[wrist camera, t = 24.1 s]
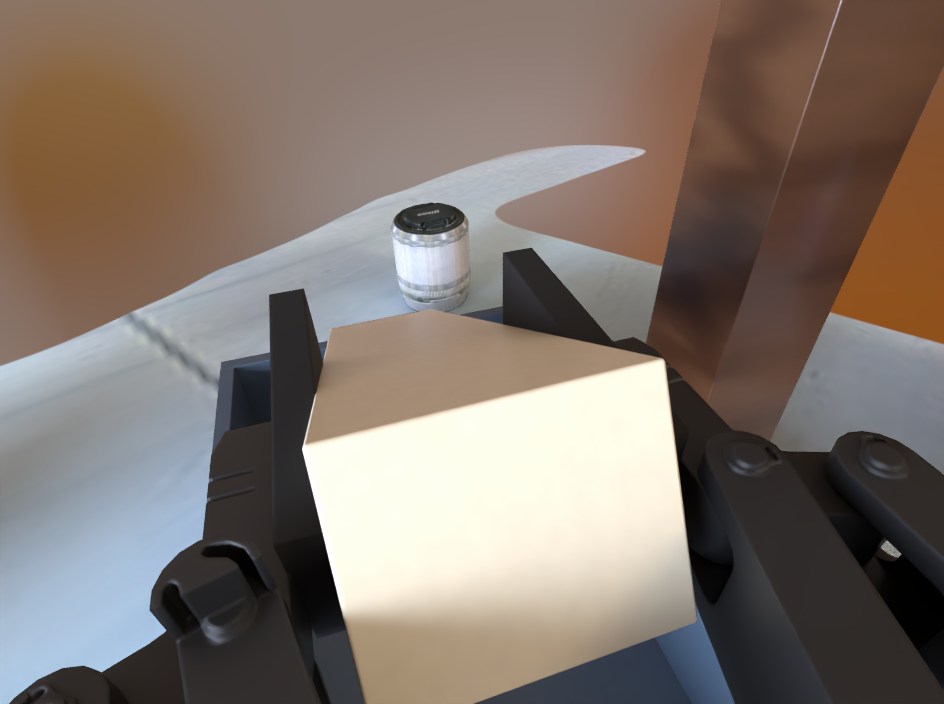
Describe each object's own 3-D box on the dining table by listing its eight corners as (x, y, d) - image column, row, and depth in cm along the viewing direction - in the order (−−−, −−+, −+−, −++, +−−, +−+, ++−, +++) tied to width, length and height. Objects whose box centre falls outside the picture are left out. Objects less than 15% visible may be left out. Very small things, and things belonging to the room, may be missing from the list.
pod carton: (349, 412, 25) (330, 328, 24) (447, 389, 26) (431, 308, 25) (373, 743, 7) (300, 445, 6) (699, 622, 8) (666, 357, 7)
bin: (256, 446, 34) (220, 361, 30) (513, 386, 38) (515, 303, 34) (239, 1611, 10) (54, 2030, 6) (933, 1143, 14) (1126, 1195, 10)
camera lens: (390, 288, 49) (378, 206, 44) (453, 271, 51) (449, 191, 46) (414, 323, 44) (404, 236, 39) (482, 304, 46) (481, 219, 41)
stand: (554, 411, 36) (621, -314, 16) (684, 378, 38) (879, -297, 19) (676, 609, 25) (1266, -764, 6) (846, 549, 27) (1695, -605, 8)
